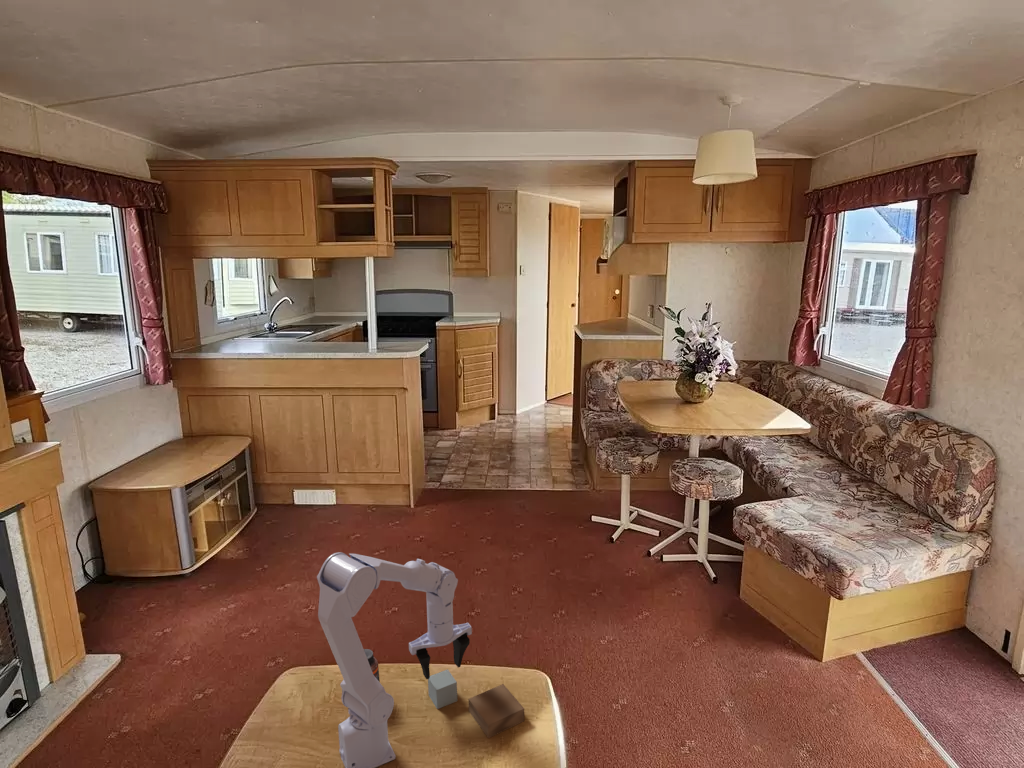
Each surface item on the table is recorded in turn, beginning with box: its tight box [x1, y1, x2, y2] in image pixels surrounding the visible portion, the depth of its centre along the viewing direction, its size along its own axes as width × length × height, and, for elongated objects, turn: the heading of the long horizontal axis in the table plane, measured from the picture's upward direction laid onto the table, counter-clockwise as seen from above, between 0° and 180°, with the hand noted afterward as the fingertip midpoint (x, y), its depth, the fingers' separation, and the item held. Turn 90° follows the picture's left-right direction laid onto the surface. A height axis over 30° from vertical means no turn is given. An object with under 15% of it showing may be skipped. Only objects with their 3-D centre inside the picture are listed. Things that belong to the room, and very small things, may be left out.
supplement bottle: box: [363, 648, 381, 683], centre depth 134 cm, size 6×6×11 cm
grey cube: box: [427, 669, 458, 710], centre depth 135 cm, size 5×5×5 cm
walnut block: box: [468, 683, 525, 739], centre depth 129 cm, size 9×9×4 cm
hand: (442, 670), depth 134 cm, fingers open, 7 cm apart
